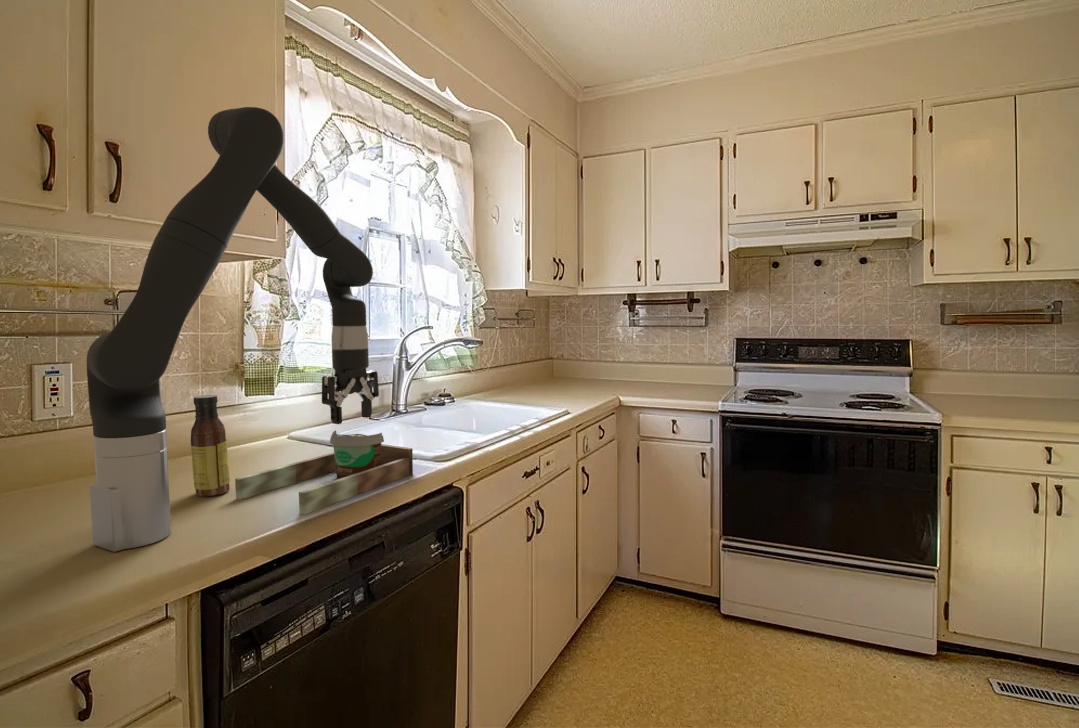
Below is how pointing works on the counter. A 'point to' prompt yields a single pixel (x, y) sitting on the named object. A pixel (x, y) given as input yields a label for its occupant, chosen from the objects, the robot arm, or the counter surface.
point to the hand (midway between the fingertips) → (352, 420)
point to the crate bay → (390, 469)
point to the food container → (355, 452)
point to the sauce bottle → (209, 449)
